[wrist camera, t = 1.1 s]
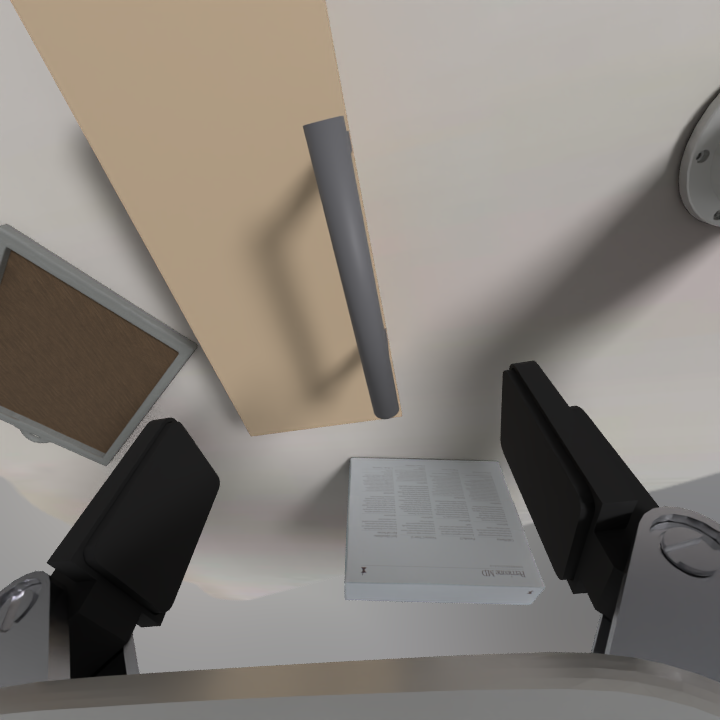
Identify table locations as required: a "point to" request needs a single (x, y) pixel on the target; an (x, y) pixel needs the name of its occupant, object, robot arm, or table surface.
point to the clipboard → (76, 353)
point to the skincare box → (435, 534)
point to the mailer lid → (237, 189)
